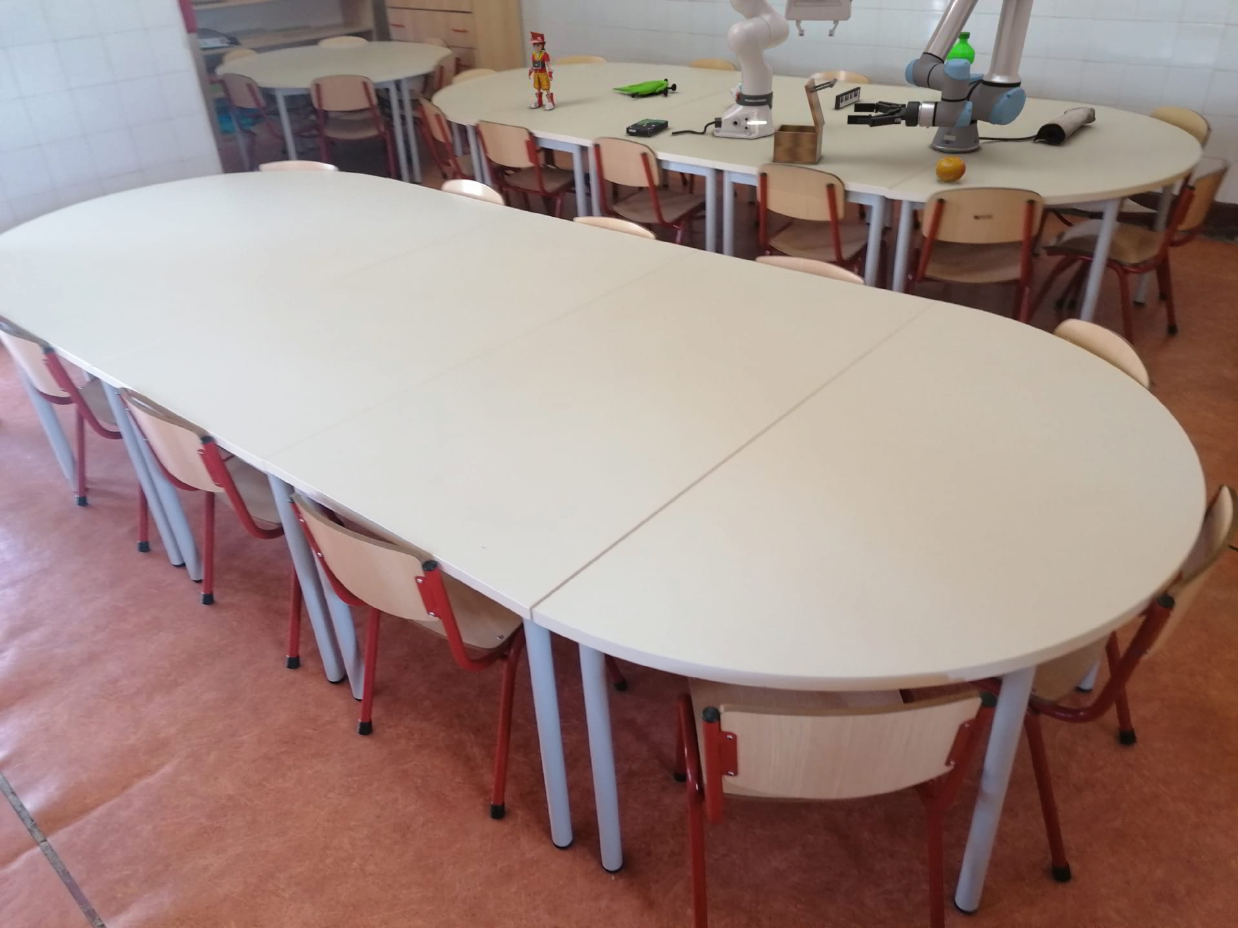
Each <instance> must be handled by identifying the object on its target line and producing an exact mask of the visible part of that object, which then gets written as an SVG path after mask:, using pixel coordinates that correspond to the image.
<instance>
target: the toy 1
mask: <svg viewBox="0 0 1238 928" xmlns="http://www.w3.org/2000/svg"><path fill="white" fill-rule="evenodd" d="M529 33H530V35H531V36H528V37H527V38H528V39H529V40H528V41H527V43H529V44H530V43H531V44H532V48H533V50H534V51H533V52H532V55H531V58H530V59H531V63H530V66H528V74H527V75H528V76H527V77H528V79H529V80H531V75H532V74H533V84H532V85H533V86H532V87H533V88H534V89H535V90H536V92H534V95H535V97H536V100H535V101H533V102H531V105H530V108H531V109H535V108H538V107H542V106H544V101H543V100H544V99H543V95H544V92H546V94H545V97H546V99H547V103H546V104H545V106H544V110H546V111H549V110H553V109H554V107H555V106H556V105H555V99H554V92H551V91H550V90H551V86H552V84H551V82H552V81H553V80H554V77H553V73H554V71H555V70H554V69H552V68H551V63H550V61H551V59H550V58H551V57H550V54H549V53H548V52H547V50H546V48H545V46H546V44H547V41H545V35H544V33H543V32H542V33H539V32H535V31H529Z"/></svg>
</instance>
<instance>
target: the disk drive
mask: <svg viewBox="0 0 1238 928" xmlns="http://www.w3.org/2000/svg"><path fill="white" fill-rule="evenodd" d="M667 128H669V120H664V119H652V118H644V119H641V120H640V121H637V122H635V123H633V124H631V125H628V126H626V128H625V132H626V133H625V134H626V135H629V136H630V135H631V136H638V137H652V136H653V135H655V134H657V133H659V132H662V131H664V130H666V129H667Z"/></svg>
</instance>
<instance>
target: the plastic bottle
mask: <svg viewBox="0 0 1238 928" xmlns="http://www.w3.org/2000/svg"><path fill="white" fill-rule="evenodd" d="M970 36H971V32H970V31H961V33H960V35H959V37H958V42H957V43H955V44H954V46H953V48H952V50H951V51H950V53H949V55H948V57H947V59H946V61H948V60H951V59H966V60H968V61H969V62H970V66H971V65H972V64H973V63H974V61H975V57H976V51H975V49H974V47H972V45H971V44H970V43H969V42H968V41H969V39H970V38H971V37H970Z"/></svg>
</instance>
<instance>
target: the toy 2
mask: <svg viewBox="0 0 1238 928" xmlns="http://www.w3.org/2000/svg"><path fill="white" fill-rule="evenodd" d="M669 85H670V83H669V79H668V78H664V79H663V80H649V81H644V82H640V83H634V84H629V85H627V86H621V87H613V88H612V89H613V90H616V91H619V92H623V93H627V94H628V93H629V94H631V95H630V96H631V98H632V99H634V98H636V96H637V95H650V94H652V93H654V94H658V93H662V95H663V96H665V97H667V96H668V95H669V90H671V91H672V92H676V91H677V84H676V83H672V84H671V86H669Z"/></svg>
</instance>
